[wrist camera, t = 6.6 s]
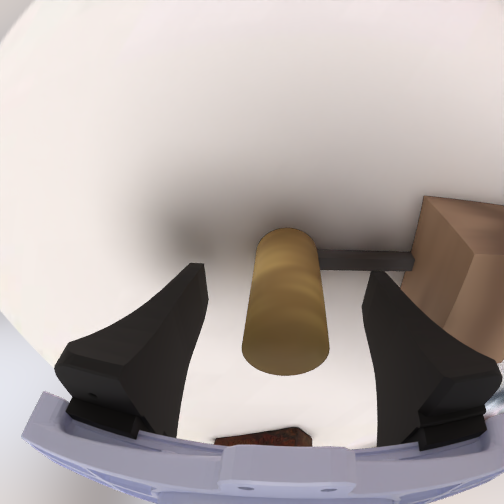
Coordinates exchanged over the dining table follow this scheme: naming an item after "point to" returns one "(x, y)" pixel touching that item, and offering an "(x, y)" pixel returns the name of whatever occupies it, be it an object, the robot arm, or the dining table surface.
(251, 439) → the brick
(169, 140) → the dining table surface
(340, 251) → the wooden mallet
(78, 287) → the dining table surface
